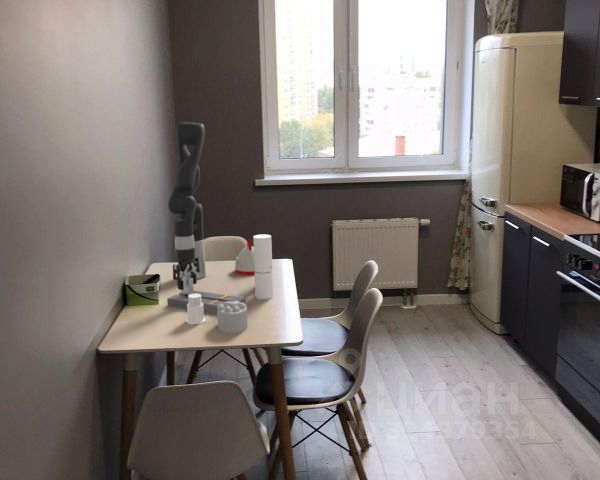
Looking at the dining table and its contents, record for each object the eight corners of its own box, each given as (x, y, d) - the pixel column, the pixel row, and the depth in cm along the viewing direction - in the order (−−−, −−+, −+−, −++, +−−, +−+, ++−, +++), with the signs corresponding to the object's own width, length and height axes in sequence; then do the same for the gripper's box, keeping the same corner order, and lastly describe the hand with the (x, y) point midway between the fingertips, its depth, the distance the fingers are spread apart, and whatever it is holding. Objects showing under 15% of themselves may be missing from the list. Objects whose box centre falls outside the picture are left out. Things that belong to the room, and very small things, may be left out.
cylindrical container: (276, 295, 279) (274, 235, 273) (268, 300, 272) (266, 238, 267) (260, 293, 282) (258, 233, 276) (252, 298, 275) (250, 237, 270)
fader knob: (181, 300, 271) (180, 278, 269) (186, 298, 273) (184, 276, 271) (189, 301, 269) (188, 279, 267) (194, 299, 271) (192, 277, 269)
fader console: (167, 305, 268) (167, 297, 267) (187, 296, 279) (187, 288, 278) (227, 315, 255) (227, 306, 255) (246, 305, 267) (245, 296, 266)
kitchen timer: (237, 276, 308) (236, 243, 305) (233, 268, 321) (231, 237, 318) (267, 273, 311) (266, 241, 308) (262, 266, 324) (261, 235, 321)
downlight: (183, 319, 252) (182, 293, 249) (202, 316, 254) (201, 290, 252) (189, 326, 245) (188, 300, 242) (208, 323, 247) (207, 297, 245)
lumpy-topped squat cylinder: (246, 320, 249) (245, 297, 247) (248, 332, 237) (247, 308, 235) (217, 322, 248) (216, 299, 246) (218, 334, 235) (217, 310, 233)
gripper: (188, 242, 274) (190, 281, 277) (165, 249, 262) (168, 290, 265) (203, 243, 271) (205, 283, 274) (181, 251, 258) (184, 292, 262)
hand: (187, 286), depth 270 cm, fingers open, 8 cm apart
